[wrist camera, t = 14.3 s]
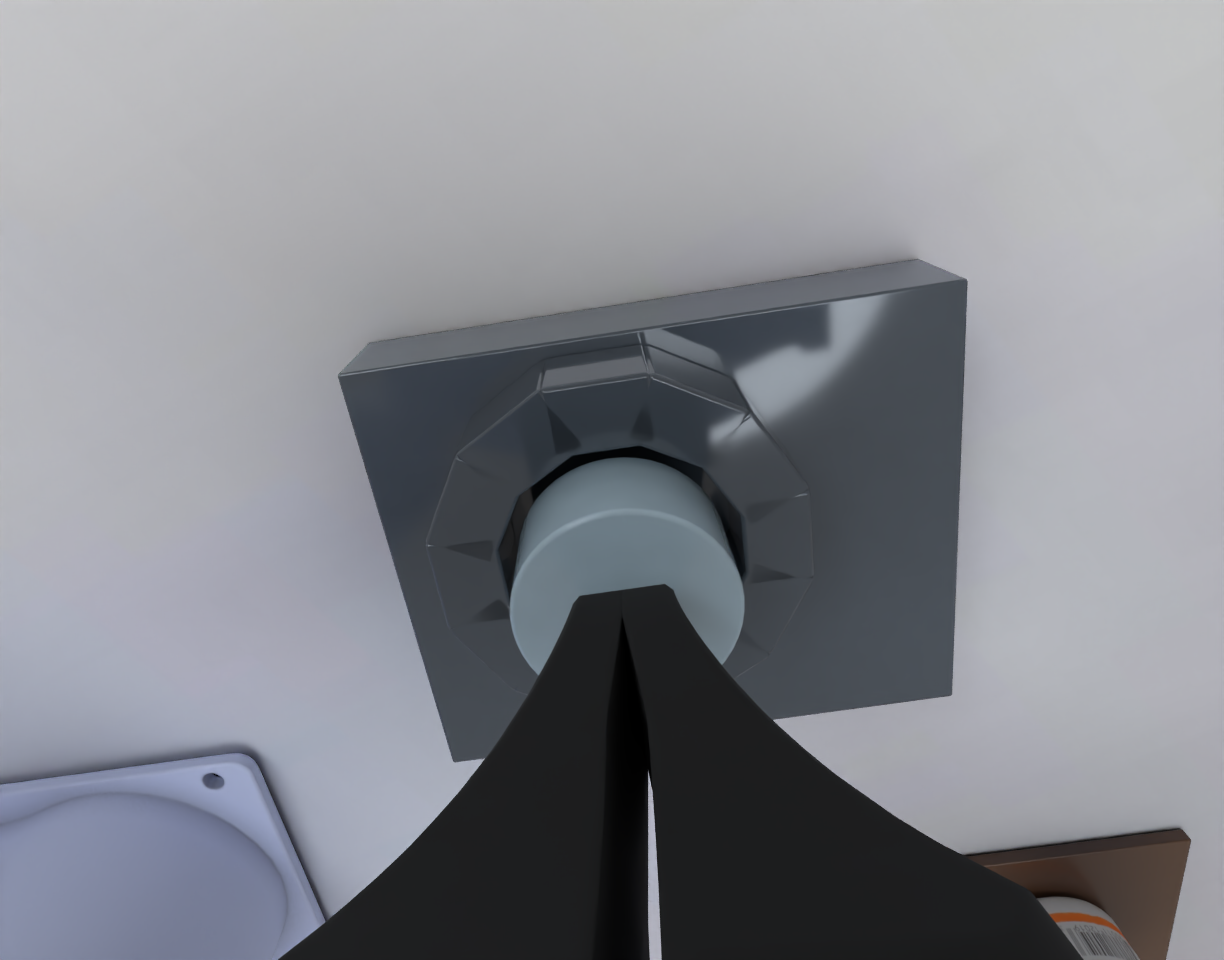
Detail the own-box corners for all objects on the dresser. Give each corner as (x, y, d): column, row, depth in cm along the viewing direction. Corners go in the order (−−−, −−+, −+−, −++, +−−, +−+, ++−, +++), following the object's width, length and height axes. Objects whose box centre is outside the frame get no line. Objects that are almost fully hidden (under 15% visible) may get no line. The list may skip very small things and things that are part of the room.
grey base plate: (466, 698, 20) (439, 829, 16) (367, 342, 16) (302, 408, 12) (915, 636, 19) (991, 757, 16) (919, 258, 16) (1020, 300, 12)
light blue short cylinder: (540, 648, 15) (532, 724, 13) (500, 472, 13) (486, 529, 11) (733, 621, 15) (754, 694, 13) (714, 440, 13) (736, 493, 11)
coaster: (894, 1029, 26) (898, 1042, 25) (894, 864, 23) (899, 877, 22) (1147, 999, 25) (1155, 1012, 25) (1182, 827, 22) (1191, 839, 22)
